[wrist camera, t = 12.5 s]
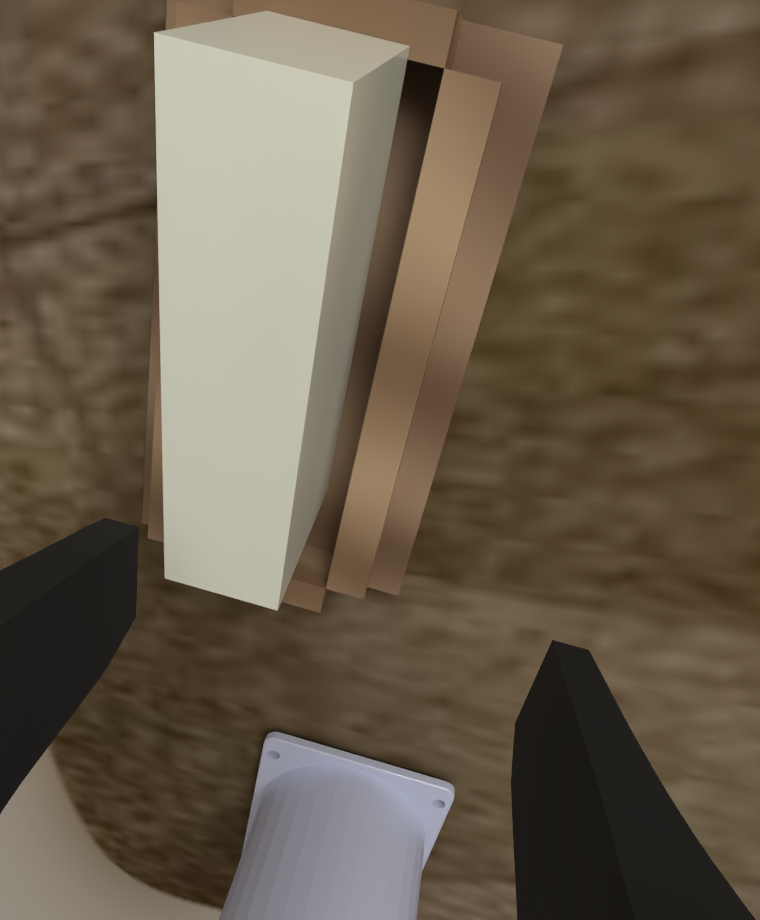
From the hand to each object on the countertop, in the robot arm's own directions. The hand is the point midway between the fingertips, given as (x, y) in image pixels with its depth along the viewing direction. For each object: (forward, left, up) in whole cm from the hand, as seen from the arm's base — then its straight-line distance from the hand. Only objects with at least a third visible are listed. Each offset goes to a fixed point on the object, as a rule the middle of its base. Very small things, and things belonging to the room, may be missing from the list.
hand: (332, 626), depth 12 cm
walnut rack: (+2, +3, -10) cm, 10 cm away
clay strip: (+3, +3, -8) cm, 9 cm away
